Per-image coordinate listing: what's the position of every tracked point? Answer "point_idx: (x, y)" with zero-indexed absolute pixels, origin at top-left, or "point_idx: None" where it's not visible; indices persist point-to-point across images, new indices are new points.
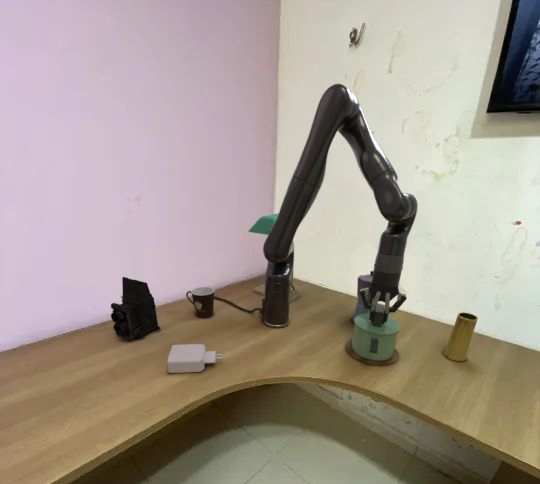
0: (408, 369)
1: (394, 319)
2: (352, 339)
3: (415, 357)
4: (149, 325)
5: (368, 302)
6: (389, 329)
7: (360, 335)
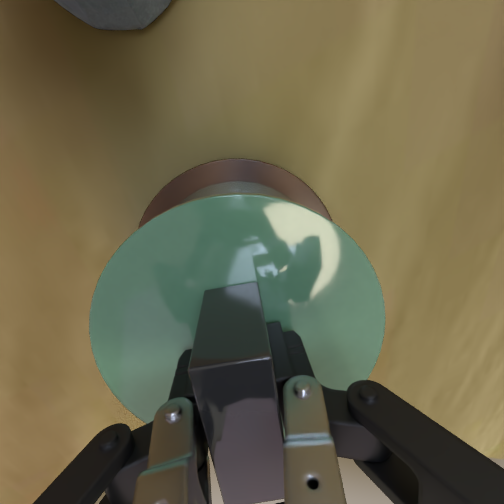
0: None
1: (342, 235)
2: (139, 227)
3: (399, 219)
4: None
5: (112, 477)
6: (321, 383)
7: None
